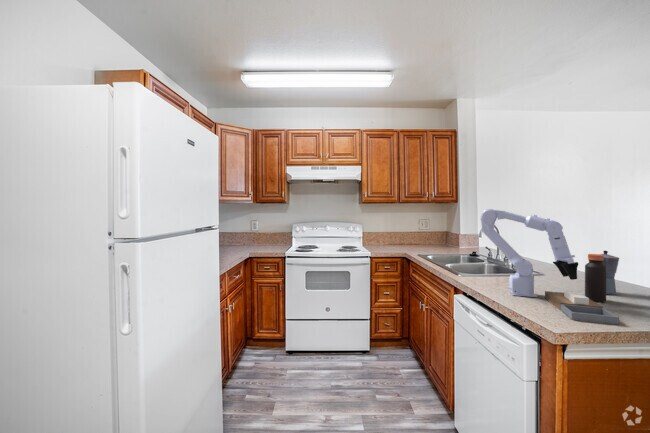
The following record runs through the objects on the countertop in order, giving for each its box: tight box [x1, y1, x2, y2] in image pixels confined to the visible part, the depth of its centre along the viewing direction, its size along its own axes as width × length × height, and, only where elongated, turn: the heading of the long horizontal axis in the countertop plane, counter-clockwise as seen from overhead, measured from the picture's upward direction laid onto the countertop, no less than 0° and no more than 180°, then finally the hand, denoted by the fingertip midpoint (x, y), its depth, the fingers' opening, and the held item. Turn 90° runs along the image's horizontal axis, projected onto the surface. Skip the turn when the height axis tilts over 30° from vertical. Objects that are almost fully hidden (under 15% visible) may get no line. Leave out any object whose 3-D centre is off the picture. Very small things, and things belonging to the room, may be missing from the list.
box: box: [560, 304, 620, 326], centre depth 104 cm, size 13×10×3 cm
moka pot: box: [600, 250, 620, 296], centre depth 133 cm, size 10×15×20 cm, turn 106°
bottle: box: [584, 253, 607, 303], centre depth 123 cm, size 7×7×20 cm
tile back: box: [563, 290, 583, 299], centre depth 116 cm, size 4×4×2 cm
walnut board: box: [544, 290, 604, 311], centre depth 117 cm, size 13×17×3 cm
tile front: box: [569, 294, 589, 305], centre depth 112 cm, size 4×4×2 cm
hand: (569, 277), depth 123 cm, fingers open, 7 cm apart
